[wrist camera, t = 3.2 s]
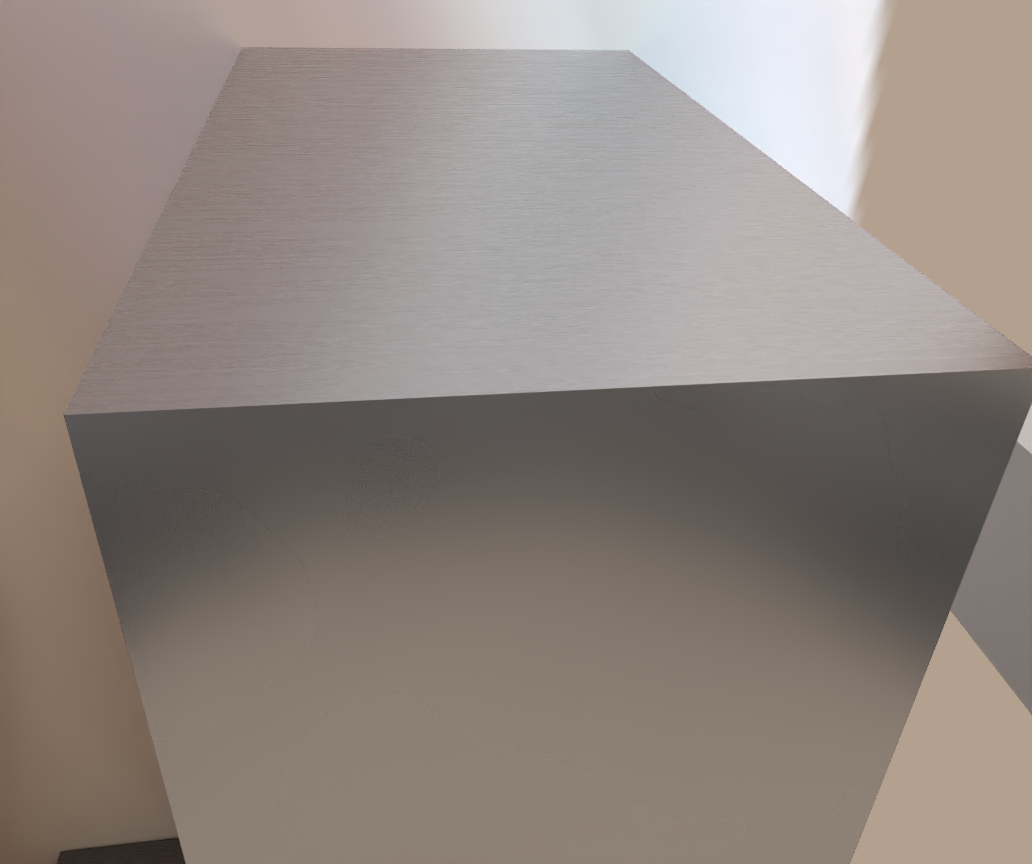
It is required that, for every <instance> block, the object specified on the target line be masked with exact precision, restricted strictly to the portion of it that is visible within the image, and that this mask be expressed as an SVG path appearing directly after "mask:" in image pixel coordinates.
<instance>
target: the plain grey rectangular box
mask: <svg viewBox="0 0 1032 864" xmlns="http://www.w3.org/2000/svg"><path fill="white" fill-rule="evenodd" d="M1031 404H1032V356H1030V355H1029V354H1028V353H1026V352H1025V351H1024V350H1022V349H1021V348H1020V347H1018V346H1017V345H1016V344H1015V343H1013V342H1012V341H1011V340H1009V339H1008V338H1007V337H1005V336H1004V335H1003V334H1001V333H1000V332H999V331H997V330H996V329H995V328H993V327H992V326H991V325H989V324H988V323H987V322H986V321H984V320H983V319H982V318H980V317H979V316H978V315H976V314H975V313H974V312H972V311H971V310H970V309H968V308H967V307H966V306H965V305H963V304H962V303H960V302H959V301H958V300H957V299H955V298H954V297H953V296H951V295H950V294H949V293H947V292H946V291H945V290H943V289H942V288H941V287H939V286H938V285H937V284H936V283H934V282H933V281H932V280H930V279H929V278H928V277H926V276H925V275H924V274H922V273H921V272H920V271H918V270H917V269H916V268H915V267H913V266H912V265H911V264H909V263H908V262H907V261H905V260H904V259H903V258H901V257H900V256H899V255H897V254H896V253H895V252H893V251H892V250H891V249H890V248H888V247H887V246H886V245H884V244H883V243H882V242H880V241H879V240H878V239H876V238H875V237H874V236H872V235H871V234H870V233H868V232H867V231H866V230H865V229H863V228H862V227H861V226H859V225H858V224H857V223H855V222H854V221H853V220H851V219H850V218H849V217H847V216H846V215H845V214H843V213H842V212H841V211H839V210H838V209H837V208H836V207H834V206H833V205H832V204H830V203H829V202H828V201H826V200H825V199H824V198H822V197H821V196H820V195H818V194H817V193H816V192H814V191H813V190H812V189H811V188H809V187H808V186H807V185H805V184H804V183H803V182H801V181H800V180H799V179H797V178H796V177H795V176H793V175H792V174H791V173H789V172H788V171H787V170H786V169H784V168H783V167H782V166H780V165H779V164H778V163H776V162H775V161H774V160H772V159H771V158H770V157H768V156H767V155H766V154H764V153H763V152H762V151H761V150H759V149H758V148H757V147H755V146H754V145H753V144H751V143H750V142H749V141H747V140H746V139H745V138H743V137H742V136H741V135H739V134H738V133H737V132H736V131H734V130H733V129H732V128H730V127H729V126H728V125H726V124H725V123H724V122H722V121H721V120H720V119H718V118H717V117H716V116H714V115H713V114H712V113H711V112H709V111H708V110H707V109H705V108H704V107H703V106H701V105H700V104H699V103H697V102H696V101H695V100H693V99H692V98H691V97H689V96H688V95H687V94H686V93H684V92H683V91H682V90H680V89H679V88H678V87H676V86H675V85H674V84H672V83H671V82H670V81H668V80H667V79H666V78H664V77H663V76H662V75H660V74H659V73H658V72H657V71H655V70H654V69H653V68H651V67H650V66H649V65H647V64H646V63H645V62H643V61H642V60H641V59H639V58H638V57H637V56H635V55H634V54H633V53H632V52H630V51H629V50H534V49H404V48H274V47H242V50H241V52H240V54H239V56H238V58H237V60H236V62H235V64H234V66H233V68H232V70H231V72H230V74H229V76H228V78H227V80H226V82H225V84H224V87H223V89H222V91H221V93H220V95H219V97H218V99H217V101H216V103H215V105H214V107H213V109H212V111H211V113H210V115H209V117H208V119H207V121H206V124H205V126H204V128H203V130H202V132H201V134H200V136H199V138H198V140H197V142H196V144H195V146H194V148H193V150H192V152H191V154H190V156H189V158H188V160H187V163H186V165H185V167H184V169H183V171H182V173H181V175H180V177H179V179H178V181H177V183H176V185H175V187H174V189H173V191H172V193H171V195H170V197H169V200H168V202H167V204H166V206H165V208H164V210H163V212H162V214H161V216H160V218H159V220H158V222H157V224H156V226H155V228H154V230H153V232H152V234H151V237H150V239H149V241H148V243H147V245H146V247H145V249H144V251H143V253H142V255H141V257H140V259H139V261H138V263H137V265H136V267H135V269H134V271H133V274H132V276H131V278H130V280H129V282H128V284H127V286H126V288H125V290H124V292H123V294H122V296H121V298H120V300H119V302H118V304H117V306H116V308H115V311H114V313H113V315H112V317H111V319H110V321H109V323H108V325H107V327H106V329H105V331H104V333H103V335H102V337H101V339H100V341H99V343H98V345H97V348H96V350H95V352H94V354H93V356H92V358H91V360H90V362H89V364H88V366H87V368H86V370H85V372H84V374H83V376H82V378H81V380H80V382H79V384H78V387H77V389H76V391H75V393H74V395H73V397H72V399H71V401H70V403H69V405H68V407H67V409H66V411H65V413H64V418H65V422H66V425H67V429H68V433H69V436H70V440H71V444H72V447H73V451H74V455H75V458H76V462H77V466H78V469H79V473H80V477H81V480H82V484H83V488H84V491H85V495H86V499H87V502H88V506H89V510H90V513H91V517H92V521H93V525H94V528H95V532H96V536H97V539H98V543H99V547H100V550H101V554H102V558H103V561H104V565H105V569H106V572H107V576H108V580H109V583H110V587H111V591H112V594H113V598H114V602H115V605H116V609H117V613H118V616H119V620H120V624H121V627H122V631H123V635H124V638H125V642H126V646H127V649H128V653H129V657H130V660H131V664H132V668H133V672H134V675H135V679H136V683H137V686H138V690H139V694H140V697H141V701H142V705H143V708H144V712H145V716H146V719H147V723H148V727H149V730H150V734H151V738H152V741H153V745H154V749H155V752H156V756H157V760H158V763H159V767H160V771H161V774H162V778H163V782H164V785H165V789H166V793H167V796H168V800H169V804H170V807H171V811H172V815H173V818H174V822H175V826H176V830H177V833H178V837H179V841H180V844H181V848H182V852H183V855H184V859H185V863H186V864H850V862H851V859H852V857H853V854H854V852H855V849H856V847H857V844H858V842H859V839H860V837H861V834H862V832H863V829H864V826H865V824H866V821H867V819H868V816H869V814H870V811H871V809H872V806H873V804H874V801H875V799H876V796H877V794H878V791H879V789H880V786H881V783H882V781H883V778H884V776H885V773H886V771H887V768H888V766H889V763H890V761H891V758H892V755H893V753H894V751H895V748H896V746H897V743H898V741H899V738H900V735H901V733H902V730H903V728H904V725H905V723H906V720H907V718H908V715H909V713H910V710H911V708H912V705H913V703H914V700H915V698H916V695H917V692H918V690H919V687H920V685H921V682H922V680H923V677H924V675H925V672H926V670H927V667H928V665H929V662H930V659H931V657H932V654H933V652H934V649H935V647H936V644H937V642H938V639H939V637H940V634H941V632H942V629H943V627H944V624H945V621H946V619H947V616H948V614H949V611H950V609H951V606H952V604H953V601H954V599H955V596H956V594H957V591H958V589H959V586H960V584H961V581H962V579H963V576H964V574H965V571H966V569H967V566H968V563H969V561H970V558H971V556H972V553H973V551H974V548H975V546H976V543H977V541H978V538H979V536H980V533H981V531H982V528H983V526H984V523H985V520H986V518H987V515H988V513H989V510H990V508H991V505H992V503H993V500H994V498H995V495H996V493H997V490H998V488H999V485H1000V483H1001V480H1002V477H1003V475H1004V472H1005V470H1006V467H1007V465H1008V462H1009V460H1010V457H1011V455H1012V452H1013V450H1014V447H1015V445H1016V442H1017V440H1018V437H1019V434H1020V432H1021V429H1022V427H1023V424H1024V422H1025V419H1026V417H1027V414H1028V412H1029V409H1030V407H1031Z"/></svg>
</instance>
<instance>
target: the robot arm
mask: <svg viewBox="0 0 1032 864" xmlns="http://www.w3.org/2000/svg"><path fill="white" fill-rule="evenodd" d="M950 611H951V612H952V613H953V614H954V616H955V617H956V618H957V619H958V621H959V622H960V623H961V624H962V626H963V627H964V628H965V630H966V631H967V632H968V634H969V635H970V636H971V637H972V639H973V640H974V641H975V643H976V644H977V645H978V646H979V648H980V649H981V650H982V652H983V653H984V654H985V655H986V657H987V658H988V659H989V660H990V662H991V663H992V664H993V666H994V667H995V668H996V669H997V671H998V672H999V673H1000V675H1001V676H1002V677H1003V678H1004V680H1005V681H1006V682H1007V683H1008V685H1009V686H1010V687H1011V689H1012V690H1013V691H1014V692H1015V694H1016V695H1017V696H1018V698H1019V699H1020V700H1021V701H1022V703H1023V704H1024V705H1025V707H1026V708H1027V709H1028V710H1029V712H1030V713H1031V714H1032V404H1031V407H1030V409H1029V412H1028V414H1027V417H1026V419H1025V422H1024V424H1023V427H1022V429H1021V432H1020V434H1019V437H1018V440H1017V442H1016V445H1015V447H1014V450H1013V452H1012V455H1011V457H1010V460H1009V462H1008V465H1007V467H1006V470H1005V472H1004V475H1003V477H1002V480H1001V483H1000V485H999V488H998V490H997V493H996V495H995V498H994V500H993V503H992V505H991V508H990V510H989V513H988V515H987V518H986V520H985V523H984V526H983V528H982V531H981V533H980V536H979V538H978V541H977V543H976V546H975V548H974V551H973V553H972V556H971V558H970V561H969V563H968V566H967V569H966V571H965V574H964V576H963V579H962V581H961V584H960V586H959V589H958V591H957V594H956V596H955V599H954V601H953V604H952V606H951V609H950Z"/></svg>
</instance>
